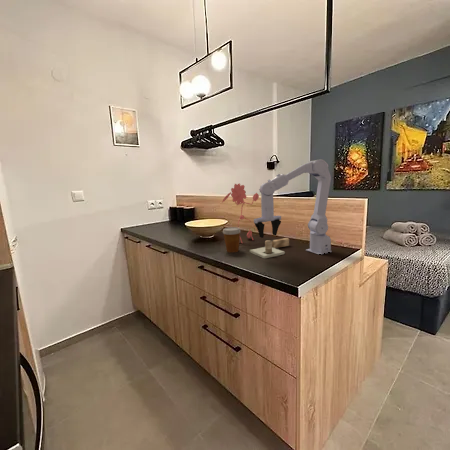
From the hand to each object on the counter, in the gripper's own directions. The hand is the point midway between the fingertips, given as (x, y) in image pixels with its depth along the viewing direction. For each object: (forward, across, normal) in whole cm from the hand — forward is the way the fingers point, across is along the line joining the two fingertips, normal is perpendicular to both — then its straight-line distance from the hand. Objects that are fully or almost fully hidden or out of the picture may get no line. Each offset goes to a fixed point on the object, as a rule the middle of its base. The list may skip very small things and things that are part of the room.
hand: (268, 236), depth 122 cm
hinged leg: (+9, +13, +8) cm, 18 cm away
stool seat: (+9, +1, +3) cm, 10 cm away
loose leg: (+9, 0, 0) cm, 9 cm away
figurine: (+10, +4, +35) cm, 37 cm away
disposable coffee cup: (+10, -11, +17) cm, 22 cm away
